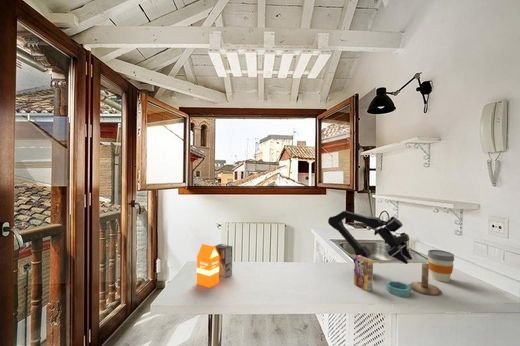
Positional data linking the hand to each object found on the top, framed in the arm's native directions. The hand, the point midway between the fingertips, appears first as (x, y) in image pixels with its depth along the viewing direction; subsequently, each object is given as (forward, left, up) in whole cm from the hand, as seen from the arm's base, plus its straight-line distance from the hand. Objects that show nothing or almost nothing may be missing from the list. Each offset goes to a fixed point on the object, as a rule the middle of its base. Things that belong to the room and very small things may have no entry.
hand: (409, 261), depth 144 cm
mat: (+6, -4, -13) cm, 15 cm away
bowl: (-9, -9, -13) cm, 18 cm away
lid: (+6, -4, -13) cm, 15 cm away
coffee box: (-101, +1, -13) cm, 102 cm away
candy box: (-25, -5, -13) cm, 29 cm away
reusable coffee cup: (+22, +12, -13) cm, 28 cm away
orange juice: (-106, -12, -13) cm, 108 cm away
